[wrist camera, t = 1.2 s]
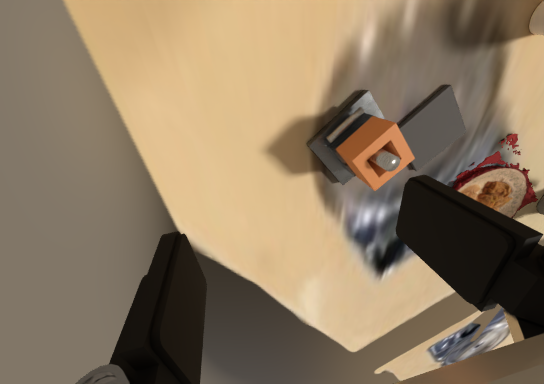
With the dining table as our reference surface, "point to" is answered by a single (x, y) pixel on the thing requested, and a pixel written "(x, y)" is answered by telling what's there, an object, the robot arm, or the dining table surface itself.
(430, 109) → the mat
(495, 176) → the plate with food
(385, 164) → the grey peg stand
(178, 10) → the dining table surface
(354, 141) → the orange square tube
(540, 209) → the coffeepot
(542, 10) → the soft serve ice cream cone
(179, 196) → the dining table surface
